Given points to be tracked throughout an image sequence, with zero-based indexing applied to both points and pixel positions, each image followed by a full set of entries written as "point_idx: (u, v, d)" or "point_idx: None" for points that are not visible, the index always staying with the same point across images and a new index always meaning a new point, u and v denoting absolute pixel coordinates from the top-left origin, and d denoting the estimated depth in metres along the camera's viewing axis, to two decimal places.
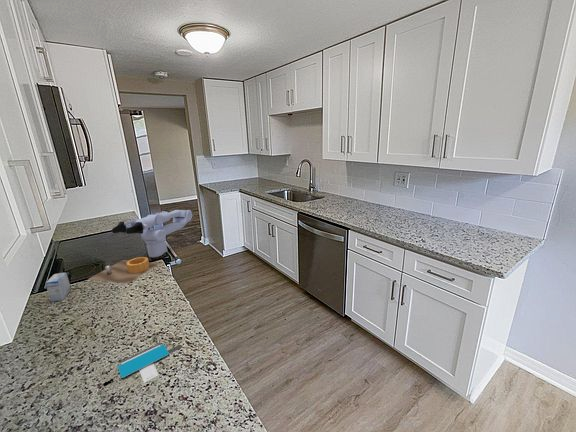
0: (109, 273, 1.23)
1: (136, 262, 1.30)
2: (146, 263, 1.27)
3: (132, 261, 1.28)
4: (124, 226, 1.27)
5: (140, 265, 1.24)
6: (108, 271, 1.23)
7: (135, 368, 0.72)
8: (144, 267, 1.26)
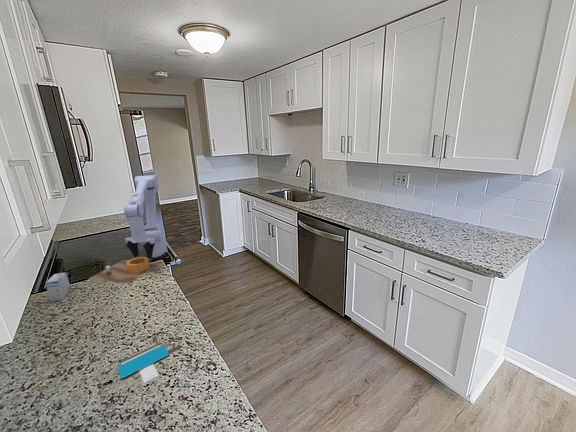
0: (109, 273, 1.23)
1: (136, 262, 1.30)
2: (146, 263, 1.27)
3: (132, 261, 1.28)
4: (133, 243, 1.24)
5: (140, 265, 1.24)
6: (108, 271, 1.23)
7: (135, 368, 0.72)
8: (144, 267, 1.26)
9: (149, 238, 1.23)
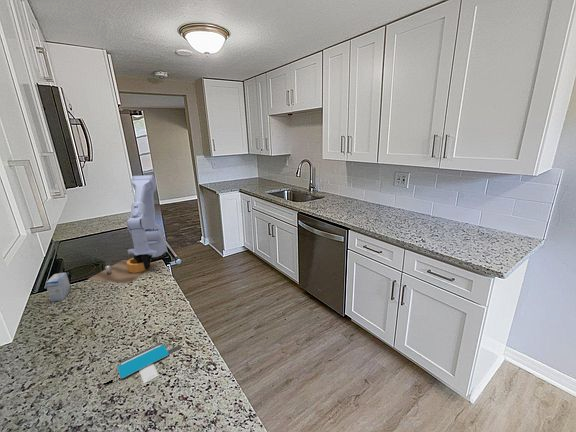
0: (109, 273, 1.23)
1: (136, 261, 1.30)
2: None
3: (132, 260, 1.28)
4: (140, 255, 1.25)
5: (140, 265, 1.24)
6: (108, 271, 1.23)
7: (135, 368, 0.72)
8: (144, 267, 1.26)
9: (151, 250, 1.24)
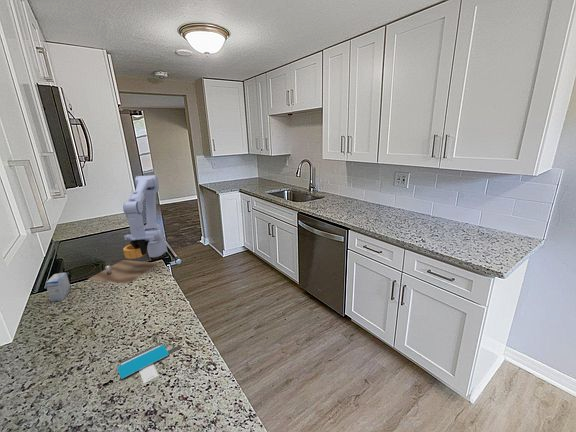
0: (109, 273, 1.23)
1: (133, 248, 1.28)
2: None
3: (129, 247, 1.26)
4: (137, 241, 1.23)
5: (137, 251, 1.22)
6: (108, 271, 1.23)
7: (135, 369, 0.72)
8: (141, 253, 1.24)
9: (148, 235, 1.22)
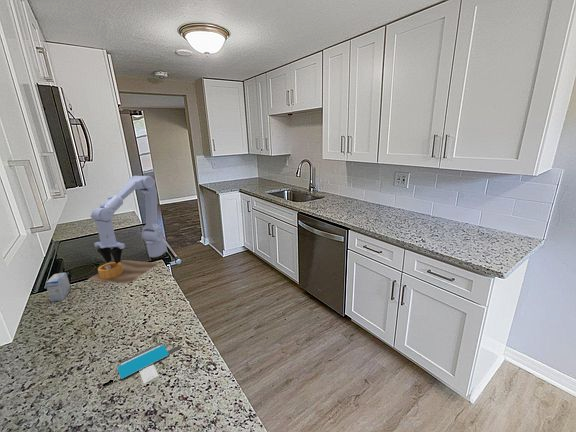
0: None
1: None
2: (118, 268, 1.22)
3: (104, 266, 1.24)
4: (105, 248, 1.20)
5: (112, 271, 1.20)
6: None
7: (135, 369, 0.72)
8: (116, 273, 1.21)
9: (119, 243, 1.18)
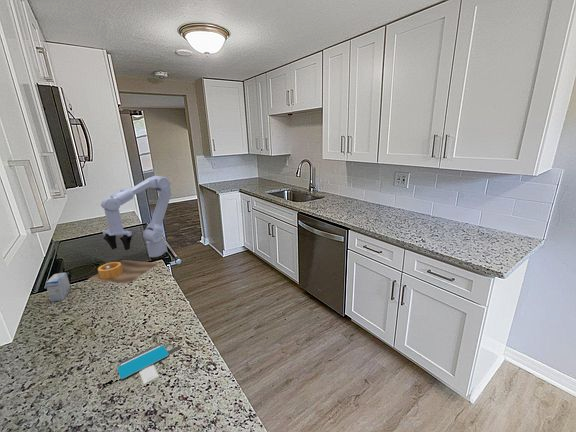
0: None
1: None
2: (118, 268, 1.22)
3: (104, 266, 1.24)
4: (110, 236, 1.28)
5: (112, 271, 1.20)
6: None
7: (135, 369, 0.72)
8: (116, 273, 1.21)
9: (126, 231, 1.27)
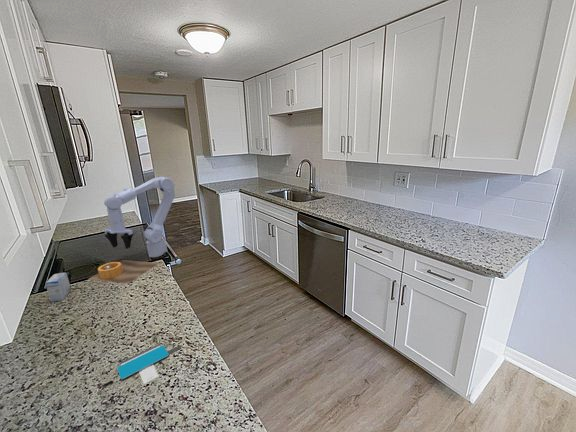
0: None
1: None
2: (118, 268, 1.22)
3: (104, 266, 1.24)
4: (112, 234, 1.30)
5: (112, 271, 1.20)
6: None
7: (135, 369, 0.72)
8: (116, 273, 1.21)
9: (127, 229, 1.29)
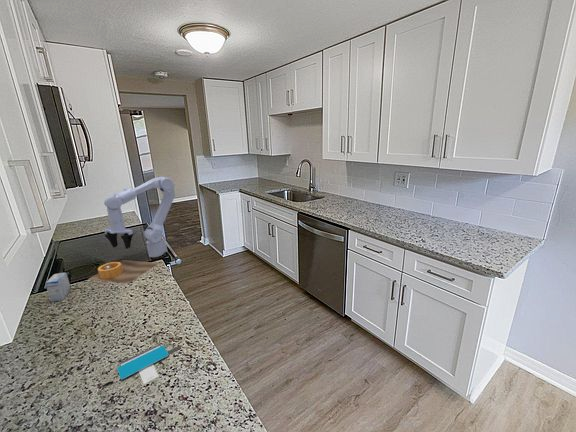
0: None
1: None
2: (118, 268, 1.22)
3: (104, 266, 1.24)
4: (112, 234, 1.30)
5: (112, 271, 1.20)
6: None
7: (135, 369, 0.72)
8: (116, 273, 1.21)
9: (127, 229, 1.29)
